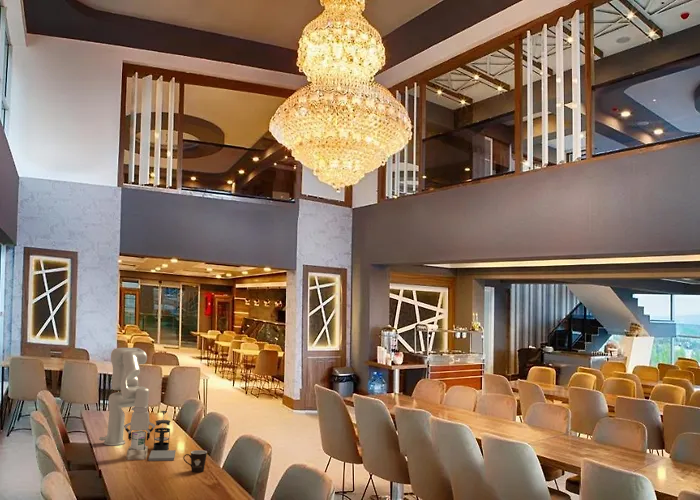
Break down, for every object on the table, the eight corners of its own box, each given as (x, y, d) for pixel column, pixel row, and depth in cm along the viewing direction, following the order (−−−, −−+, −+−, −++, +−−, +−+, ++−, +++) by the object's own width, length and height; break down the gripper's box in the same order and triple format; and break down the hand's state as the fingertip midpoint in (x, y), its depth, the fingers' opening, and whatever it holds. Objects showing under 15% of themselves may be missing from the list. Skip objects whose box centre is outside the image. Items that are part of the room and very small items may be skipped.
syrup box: (136, 459, 331) (138, 433, 333) (129, 457, 334) (131, 431, 336) (144, 457, 336) (146, 431, 338) (137, 455, 339) (139, 430, 341)
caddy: (126, 459, 329) (127, 450, 330) (128, 455, 339) (129, 446, 340) (145, 459, 332) (146, 450, 332) (147, 454, 342) (147, 446, 342)
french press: (169, 450, 353) (172, 412, 355) (153, 451, 349) (156, 412, 352) (168, 446, 364) (170, 409, 366) (152, 447, 360) (155, 409, 363)
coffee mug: (208, 470, 316) (210, 451, 317) (199, 474, 307) (201, 454, 309) (190, 467, 319) (192, 448, 320) (181, 471, 311) (182, 452, 312)
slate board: (148, 461, 328) (148, 458, 328) (151, 453, 346) (151, 450, 346) (174, 460, 332) (174, 457, 332) (175, 452, 349) (175, 450, 349)
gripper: (124, 410, 332) (122, 441, 330) (156, 410, 337) (153, 441, 334) (126, 408, 340) (123, 438, 337) (157, 408, 344) (154, 438, 342)
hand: (138, 439), depth 336 cm, fingers open, 9 cm apart
